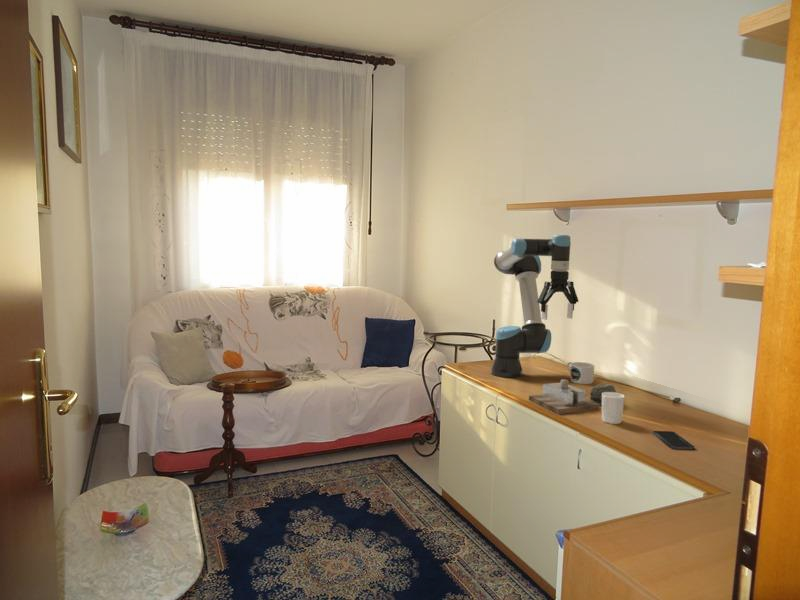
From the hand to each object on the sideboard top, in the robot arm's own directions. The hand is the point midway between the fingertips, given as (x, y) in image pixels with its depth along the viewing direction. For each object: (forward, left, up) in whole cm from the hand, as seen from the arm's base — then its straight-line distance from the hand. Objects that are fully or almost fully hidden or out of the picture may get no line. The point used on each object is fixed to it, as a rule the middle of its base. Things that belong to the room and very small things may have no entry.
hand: (557, 318), depth 244 cm
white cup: (+43, -7, -32) cm, 54 cm away
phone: (+66, -2, -32) cm, 74 cm away
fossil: (+24, +6, -32) cm, 41 cm away
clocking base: (+21, -11, -32) cm, 39 cm away
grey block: (+20, -11, -30) cm, 38 cm away
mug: (-8, +21, -32) cm, 39 cm away
